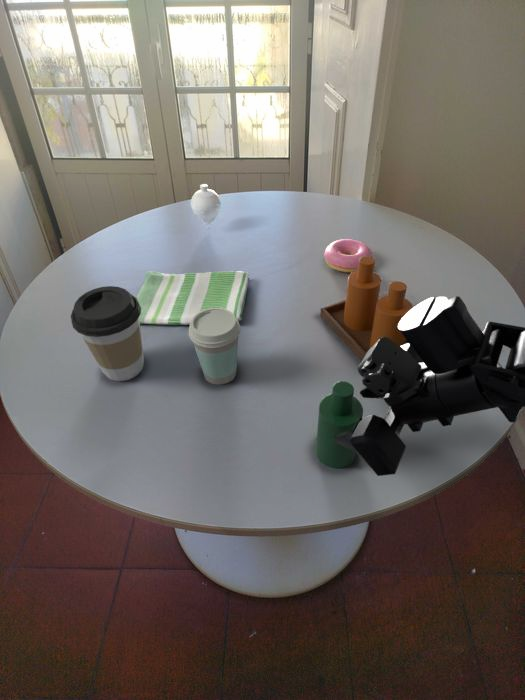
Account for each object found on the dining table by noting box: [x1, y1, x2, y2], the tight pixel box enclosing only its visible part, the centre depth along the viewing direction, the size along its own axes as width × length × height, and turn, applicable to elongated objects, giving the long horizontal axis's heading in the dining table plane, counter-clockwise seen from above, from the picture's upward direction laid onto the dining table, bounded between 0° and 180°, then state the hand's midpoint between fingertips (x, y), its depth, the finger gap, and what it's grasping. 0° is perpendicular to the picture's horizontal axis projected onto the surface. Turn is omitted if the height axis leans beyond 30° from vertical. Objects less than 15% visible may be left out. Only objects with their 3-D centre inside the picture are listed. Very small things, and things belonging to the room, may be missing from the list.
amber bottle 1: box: [344, 256, 382, 331], centre depth 88 cm, size 6×6×14 cm
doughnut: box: [323, 238, 373, 273], centre depth 109 cm, size 11×11×4 cm
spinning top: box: [190, 183, 222, 230], centre depth 120 cm, size 8×8×12 cm
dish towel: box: [135, 270, 250, 326], centre depth 100 cm, size 18×23×3 cm
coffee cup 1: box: [70, 285, 145, 382], centre depth 81 cm, size 11×11×15 cm
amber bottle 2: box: [370, 280, 413, 349], centre depth 82 cm, size 6×6×14 cm
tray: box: [319, 299, 409, 362], centre depth 87 cm, size 28×11×2 cm, turn 25°
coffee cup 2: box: [188, 308, 241, 386], centre depth 80 cm, size 8×8×12 cm
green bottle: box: [315, 380, 364, 469], centre depth 66 cm, size 6×6×14 cm
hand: (349, 416), depth 64 cm, fingers open, 9 cm apart
